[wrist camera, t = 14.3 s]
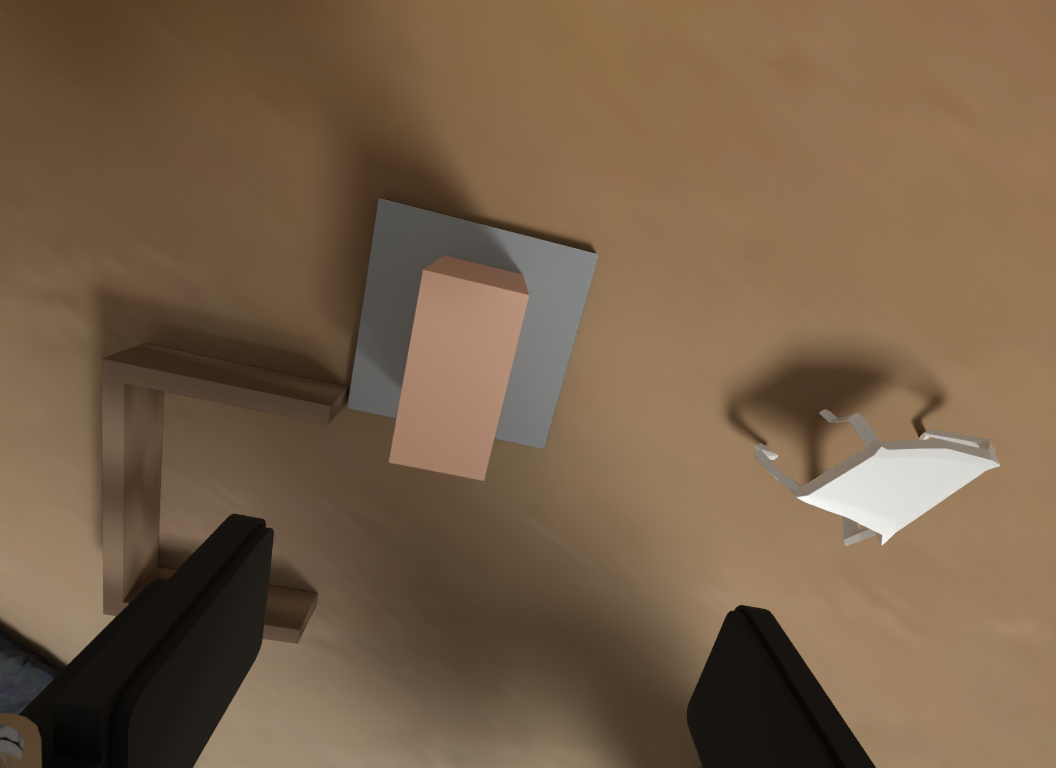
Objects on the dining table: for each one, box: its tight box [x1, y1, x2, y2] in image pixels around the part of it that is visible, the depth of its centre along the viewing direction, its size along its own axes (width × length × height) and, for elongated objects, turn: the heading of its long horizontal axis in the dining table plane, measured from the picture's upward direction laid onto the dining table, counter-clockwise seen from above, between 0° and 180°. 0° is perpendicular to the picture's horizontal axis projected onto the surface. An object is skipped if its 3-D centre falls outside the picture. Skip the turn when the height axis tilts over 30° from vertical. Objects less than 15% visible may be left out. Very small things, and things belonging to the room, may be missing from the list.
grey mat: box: [347, 198, 599, 449], centre depth 27 cm, size 11×11×1 cm
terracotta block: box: [389, 255, 529, 481], centre depth 23 cm, size 4×8×7 cm, turn 166°
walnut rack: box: [102, 344, 348, 644], centre depth 28 cm, size 15×10×3 cm
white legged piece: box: [753, 409, 1000, 546], centre depth 28 cm, size 12×8×5 cm
